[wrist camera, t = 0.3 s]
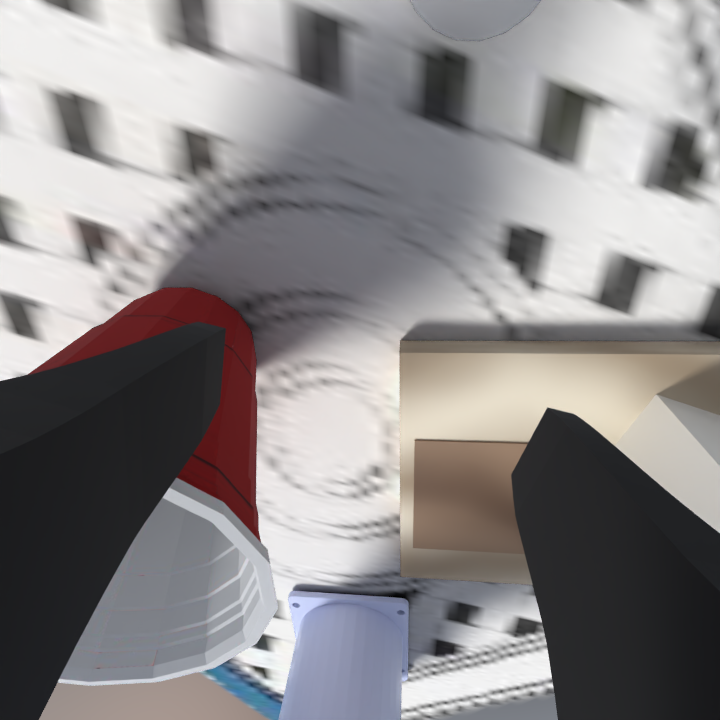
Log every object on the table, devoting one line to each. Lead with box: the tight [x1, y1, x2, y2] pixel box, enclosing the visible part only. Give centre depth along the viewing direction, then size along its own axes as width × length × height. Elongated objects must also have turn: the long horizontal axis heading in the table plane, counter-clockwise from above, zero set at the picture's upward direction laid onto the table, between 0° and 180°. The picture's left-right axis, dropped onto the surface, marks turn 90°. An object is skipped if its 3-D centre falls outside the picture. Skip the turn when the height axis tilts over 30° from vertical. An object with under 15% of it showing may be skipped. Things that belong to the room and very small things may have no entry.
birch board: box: [400, 340, 720, 585], centre depth 22 cm, size 15×17×1 cm
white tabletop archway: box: [615, 394, 720, 533], centre depth 18 cm, size 6×6×6 cm
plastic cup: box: [28, 288, 278, 686], centre depth 16 cm, size 11×11×12 cm
